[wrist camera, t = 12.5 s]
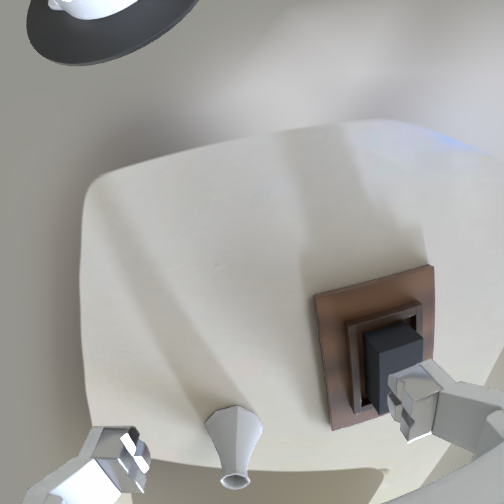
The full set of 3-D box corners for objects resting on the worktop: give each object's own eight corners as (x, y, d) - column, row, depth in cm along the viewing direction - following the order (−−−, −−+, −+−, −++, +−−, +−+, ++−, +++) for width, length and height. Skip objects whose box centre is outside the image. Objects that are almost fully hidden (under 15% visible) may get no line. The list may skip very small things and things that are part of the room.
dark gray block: (361, 333, 35) (378, 353, 30) (403, 320, 35) (423, 337, 30) (365, 392, 36) (379, 415, 31) (402, 379, 36) (419, 400, 32)
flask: (229, 450, 39) (229, 504, 29) (194, 421, 37) (186, 476, 27) (272, 428, 38) (281, 483, 28) (239, 396, 37) (240, 453, 27)
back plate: (313, 294, 35) (319, 303, 32) (429, 264, 35) (441, 269, 32) (330, 426, 39) (335, 438, 36) (425, 393, 39) (434, 403, 36)
